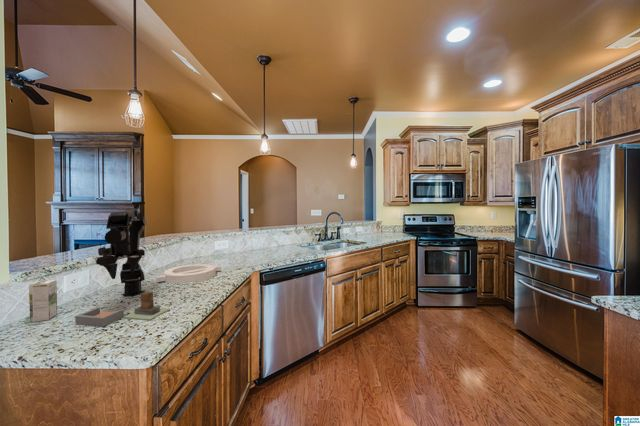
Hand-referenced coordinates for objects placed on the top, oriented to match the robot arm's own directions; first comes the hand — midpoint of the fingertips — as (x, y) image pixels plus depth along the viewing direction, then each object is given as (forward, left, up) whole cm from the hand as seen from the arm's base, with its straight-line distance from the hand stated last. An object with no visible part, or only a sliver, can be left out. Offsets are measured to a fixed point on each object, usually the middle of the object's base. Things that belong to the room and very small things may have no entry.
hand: (123, 275), depth 117 cm
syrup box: (+17, -18, -13) cm, 28 cm away
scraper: (+7, +19, -12) cm, 24 cm away
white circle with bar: (-45, 0, -13) cm, 47 cm away
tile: (+14, +6, -13) cm, 20 cm away
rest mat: (+7, +19, -13) cm, 24 cm away
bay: (+15, +6, -13) cm, 21 cm away
